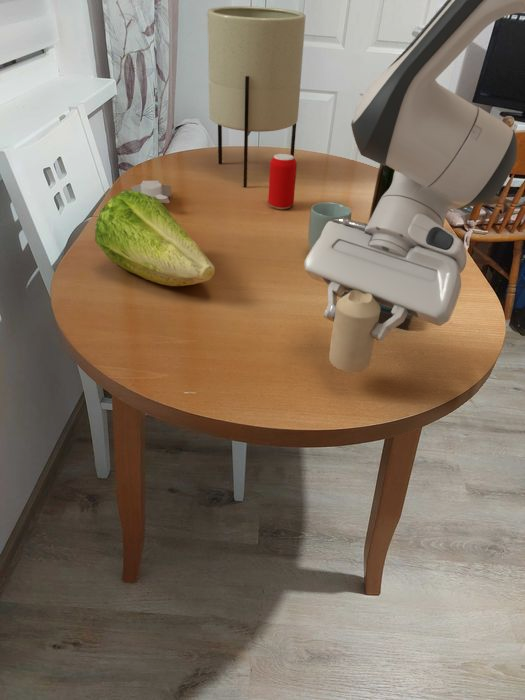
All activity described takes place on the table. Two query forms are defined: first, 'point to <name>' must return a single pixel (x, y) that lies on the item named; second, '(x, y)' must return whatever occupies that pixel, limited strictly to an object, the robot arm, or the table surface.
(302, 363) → the table surface
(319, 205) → the cup
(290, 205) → the beverage can
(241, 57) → the planter
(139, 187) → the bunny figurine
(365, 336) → the candle
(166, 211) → the lettuce
